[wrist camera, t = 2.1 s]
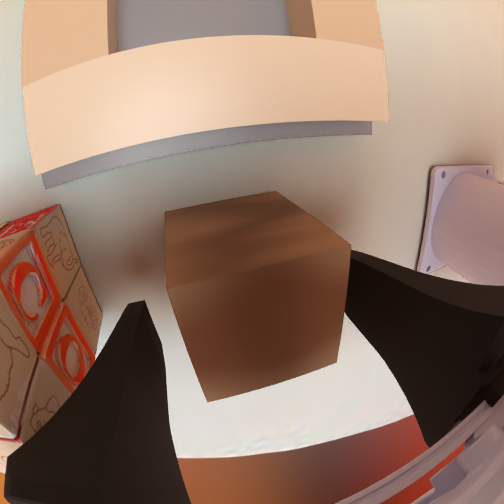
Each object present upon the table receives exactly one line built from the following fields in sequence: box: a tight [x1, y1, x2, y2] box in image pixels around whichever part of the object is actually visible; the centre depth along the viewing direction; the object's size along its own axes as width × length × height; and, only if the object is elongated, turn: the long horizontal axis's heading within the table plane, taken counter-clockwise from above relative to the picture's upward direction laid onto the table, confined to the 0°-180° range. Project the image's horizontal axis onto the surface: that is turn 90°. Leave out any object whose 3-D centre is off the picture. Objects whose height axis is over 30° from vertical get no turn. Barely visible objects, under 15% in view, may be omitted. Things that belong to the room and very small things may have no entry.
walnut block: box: [165, 191, 351, 402], centre depth 11 cm, size 5×5×6 cm
